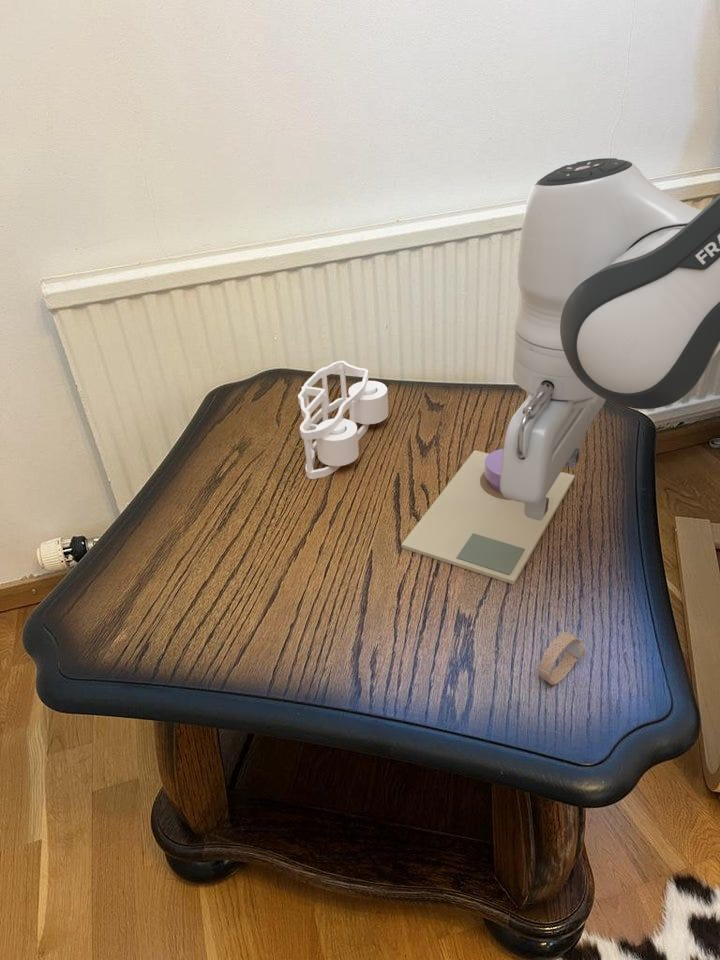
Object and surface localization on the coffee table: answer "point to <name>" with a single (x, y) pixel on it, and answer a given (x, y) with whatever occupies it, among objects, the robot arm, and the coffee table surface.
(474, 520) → the mat
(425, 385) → the coffee table surface
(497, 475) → the lavender hockey puck
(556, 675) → the perforated watch strap
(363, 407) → the car outline toy
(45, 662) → the coffee table surface
